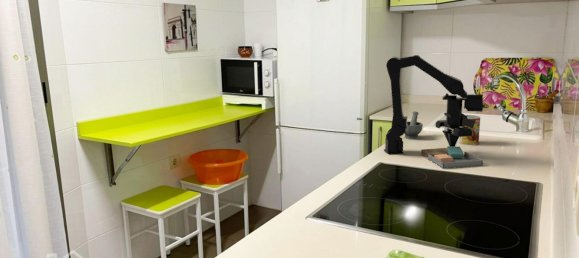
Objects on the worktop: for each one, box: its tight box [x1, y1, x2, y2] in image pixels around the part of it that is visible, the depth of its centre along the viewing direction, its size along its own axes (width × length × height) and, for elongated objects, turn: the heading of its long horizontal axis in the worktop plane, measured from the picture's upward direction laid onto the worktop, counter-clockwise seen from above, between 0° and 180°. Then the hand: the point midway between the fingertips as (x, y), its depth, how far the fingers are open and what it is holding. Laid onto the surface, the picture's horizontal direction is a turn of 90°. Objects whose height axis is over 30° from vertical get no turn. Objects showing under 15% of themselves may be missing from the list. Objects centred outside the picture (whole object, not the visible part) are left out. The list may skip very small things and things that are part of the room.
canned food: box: [459, 114, 481, 146], centre depth 200 cm, size 8×8×12 cm
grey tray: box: [427, 151, 483, 169], centre depth 173 cm, size 16×12×2 cm
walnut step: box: [420, 147, 448, 159], centre depth 183 cm, size 14×8×2 cm, turn 99°
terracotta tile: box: [434, 154, 453, 163], centre depth 174 cm, size 5×5×2 cm
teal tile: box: [446, 145, 464, 158], centre depth 179 cm, size 5×5×2 cm
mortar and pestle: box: [403, 110, 423, 140], centre depth 212 cm, size 11×9×12 cm
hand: (452, 148), depth 182 cm, fingers closed
